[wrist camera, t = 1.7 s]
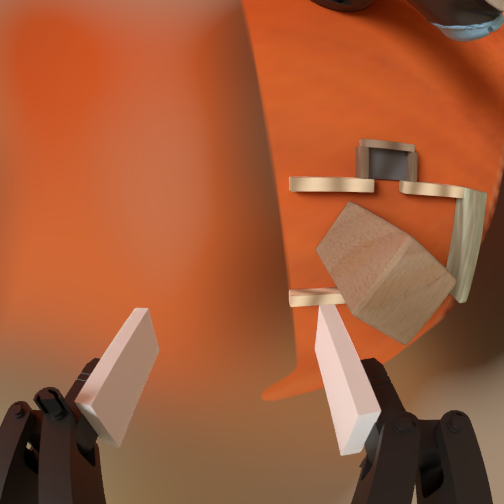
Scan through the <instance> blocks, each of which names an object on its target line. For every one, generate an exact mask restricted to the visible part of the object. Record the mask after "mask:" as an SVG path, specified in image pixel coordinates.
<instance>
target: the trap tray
mask: <svg viewBox="0 0 504 504" xmlns="http://www.w3.org/2000/svg"><path fill="white" fill-rule="evenodd" d="M417 168H418V152H415V145H413V144H406V143H398V142H390V141H381V140H372V139H359V146H358V147H356V178H355V177H289V190H290V191H291V192H293V191H337V192H374V179H389V180H399V192H402V193H405V194H416V195H431V196H443V197H454V198H456V207H455V216H454V224H453V232H452V238H451V245H450V250H449V256H448V261H447V266H446V269H447V270H448V271H449V272H450V273H451V274H452V275H453V276H454V277H455V279H456V284H455V286H454V287H453V289H452V290H451V291H450V293H449V294H450V295H451V296H452V297H454V298H455V299H456V300H457V301H458V302H459V303H462V302H466V301H467V298H468V294H469V291H470V287H471V283H472V279H473V275H474V271H475V267H476V262H477V258H478V253H479V248H480V243H481V237H482V231H483V224H484V217H485V208H486V198H487V193H485V192H482V191H478V190H475V189H471V188H467V187H463V186H455V185H447V184H438V183H428V182H418V181H417ZM370 178H372V179H370ZM289 302H290V307H296V306H314V305H330V304H344V303H346V302H345V300H344V299H343V297H342V295H341V293H340V291H339V290H338V288H337V287H332V288H314V289H293V290H289Z"/></svg>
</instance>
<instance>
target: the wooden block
mask: <svg viewBox="0 0 504 504" xmlns="http://www.w3.org/2000/svg"><path fill="white" fill-rule="evenodd" d="M316 252H317V253H318V255H319V257H320V258H321V260H322V262H323V263H324V265H325V267H326V269H327V270H328V272H329V274H330V276H331V277H332V279H333V281H334V283H335V284H336V286H337V288H338V290H339V291H340V293H341V295H342V297H343V299H344V300H345V302H346V304H347V306H348V308H349V310H350V311H351V313H352V315H353V316H355V317H357V318H358V319H360V320H362V321H363V322H365V323H367V324H369V325H370V326H372V327H374V328H376V329H377V330H379V331H381V332H383V333H384V334H386V335H388V336H389V337H391V338H393V339H395V340H396V341H398V342H400V343H402V344H404V345H407V344H408V343H409V342H410V341H411V340H412V339H413V338H414V337H415V336H416V334H417V333H418V332H419V331H420V330H421V329H422V327H423V326H424V325H425V324H426V323H427V321H428V320H429V319H430V318H431V316H432V315H433V314H434V313H435V311H436V310H437V309H438V308H439V306H440V305H441V304H442V302H443V301H444V300H445V298H446V297H447V296H448V294H449V293H450V291H451V290H452V289H453V287H454V286H455V284H456V279H455V277H454V276H453V275H452V274H451V273H450V272H449V271H448V270H447V269H446V268H445V267H444V266H443V265H442V264H441V263H440V262H439V261H438V260H437V259H436V258H435V257H434V256H433V255H432V254H431V253H430V252H429V251H428V250H427V249H426V248H425V247H423V246H422V245H421V244H420V243H419V242H418V241H417V240H416V239H415V238H414V237H413V236H411V235H410V234H408V233H406V232H405V231H403V230H401V229H400V228H398V227H396V226H395V225H393V224H391V223H389V222H388V221H386V220H384V219H382V218H381V217H379V216H377V215H375V214H374V213H372V212H370V211H368V210H366V209H365V208H363V207H361V206H359V205H357V204H355V203H353V202H351V201H349V202H348V203H347V205H346V206H345V208H344V209H343V211H342V212H341V214H340V215H339V217H338V218H337V219H336V221H335V222H334V224H333V225H332V227H331V228H330V230H329V231H328V232H327V234H326V235H325V237H324V238H323V240H322V241H321V242H320V244H319V245H318V247H317V248H316Z"/></svg>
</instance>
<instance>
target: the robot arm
mask: <svg viewBox="0 0 504 504" xmlns="http://www.w3.org/2000/svg"><path fill="white" fill-rule="evenodd" d="M311 1H313V2H315V3H316V4H319V5H321V6H323V7H326V8H329V9H333V10H337V11H344V12H354V11H359V10H362V9H365V8H366V7H368V6H369V5H370V4H371V3H372V2H373V0H311ZM407 1H408V2H409V3H410V4H411V5H413V6H414V7H415V8H416V9H417V10H418V11H419V12H421V13H422V14H423V15H424V16H425V17H426V19H427V21H428V22H429V23H431V24H432V25H434V26H435V27H437V28H438V29H439V30H440V31H441V32H442V33H443V34H444V35H445V36H446V37H448V38H450V39H452V40H454V41H459V42H467V41H473V40H477V39H480V38H483V37H486V36H488V35H489V34H490V32H494V31H496V30H498V29H499V28H500V27H501V26H502V24H503V23H504V16H503V13H502V12H504V0H407ZM315 352H316V356H317V359H318V363H319V367H320V371H321V375H322V378H323V382H324V386H325V390H326V394H327V398H328V402H329V406H330V410H331V414H332V419H333V423H334V427H335V431H336V436H337V440H338V444H339V449H340V453H341V456H343V455H348V454H353V453H358V452H361V450H362V448H363V447H364V446H365V449H366V453H367V455H366V456H365V458H364V459H363V461H362V463H361V465H360V467H362V469H361V473H360V477H359V480H358V483H357V487H356V490H355V493H354V496H353V499H352V502H351V504H411V502H412V497H413V492H414V486H415V485H416V494H417V504H493V502H492V496H491V491H490V486H489V482H488V478H487V473H486V470H485V465H484V462H483V458H482V455H481V451H480V448H479V445H478V442H477V439H476V435H475V432H474V429H473V427H472V424H471V421H470V419H469V417H468V416H467V415H466V414H465V413H463V412H461V411H458V410H451V411H449V412H447V413H445V414H444V415H443V417H442V418H441V419H440V420H419V419H418V418H417V417H416V416H415V415H413V414H412V413H409V412H406V410H405V409H404V407H403V405H402V403H401V401H400V399H399V397H398V395H397V392H396V390H395V388H394V386H393V384H392V383H391V380H390V378H389V376H387V372H386V371H385V368H384V366H383V365H382V364H381V363H380V362H379V361H377V360H376V359H375V358H370V359H364V360H360V359H359V357H358V354H357V352H356V350H355V348H354V345H353V343H352V341H351V339H350V337H349V334H348V332H347V330H346V328H345V326H344V324H343V321H342V319H341V317H340V315H339V313H338V311H337V309H336V307H335V304H334V305H319V314H318V325H317V335H316V344H315ZM158 353H159V347H158V343H157V340H156V336H155V332H154V329H153V325H152V321H151V317H150V313H149V308H135V309H134V310H133V312H132V313H131V315H130V316H129V318H128V319H127V320H126V322H125V323H124V325H123V326H122V328H121V329H120V331H119V332H118V333H117V335H116V336H115V338H114V340H113V341H112V343H111V344H110V345H109V347H108V348H107V350H106V351H105V353H104V355H103V356H102V358H101V359H98V358H94V359H93V360H92V361H90V362H89V363H88V364H86V366H85V367H84V369H83V370H82V372H81V374H80V375H79V376H78V378H77V380H76V381H75V382H74V384H73V386H72V387H71V389H70V390H69V392H68V393H67V395H66V397H65V398H64V397H63V396H62V394H61V393H60V391H59V390H58V389H56V388H54V387H47V388H43V389H42V390H40V391H39V392H38V393H37V394H36V395H35V397H34V401H35V403H36V404H37V406H38V407H39V409H40V410H32V409H31V408H30V406H29V405H28V404H27V403H26V402H24V401H18V402H15V403H14V404H12V405H11V406H10V408H9V409H8V411H7V413H6V415H5V417H4V420H3V422H2V424H1V426H0V504H106V500H105V495H104V488H103V481H102V474H101V465H100V455H99V447H98V444H97V443H96V440H97V437H98V436H99V437H100V439H101V440H102V441H103V443H105V444H109V445H112V446H116V447H120V445H121V442H122V440H123V437H124V435H125V432H126V430H127V427H128V425H129V422H130V420H131V417H132V415H133V412H134V409H135V407H136V405H137V402H138V400H139V397H140V395H141V392H142V390H143V388H144V385H145V383H146V381H147V378H148V376H149V374H150V371H151V369H152V367H153V364H154V362H155V359H156V357H157V355H158ZM27 443H29V444H30V445H31V448H30V449H27V448H26V445H27Z"/></svg>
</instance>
